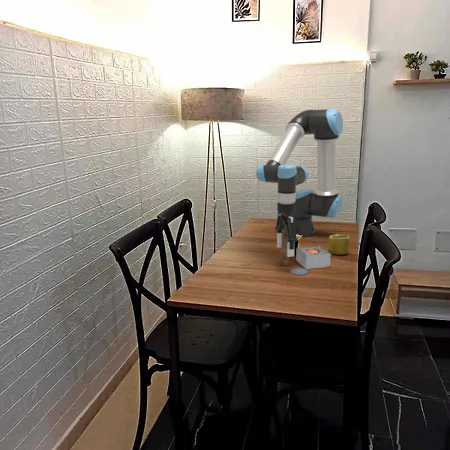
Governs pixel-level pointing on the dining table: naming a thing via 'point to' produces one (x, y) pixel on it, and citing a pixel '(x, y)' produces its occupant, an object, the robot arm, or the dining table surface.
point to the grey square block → (313, 257)
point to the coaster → (299, 271)
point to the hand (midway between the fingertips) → (285, 251)
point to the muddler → (284, 248)
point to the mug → (339, 244)
